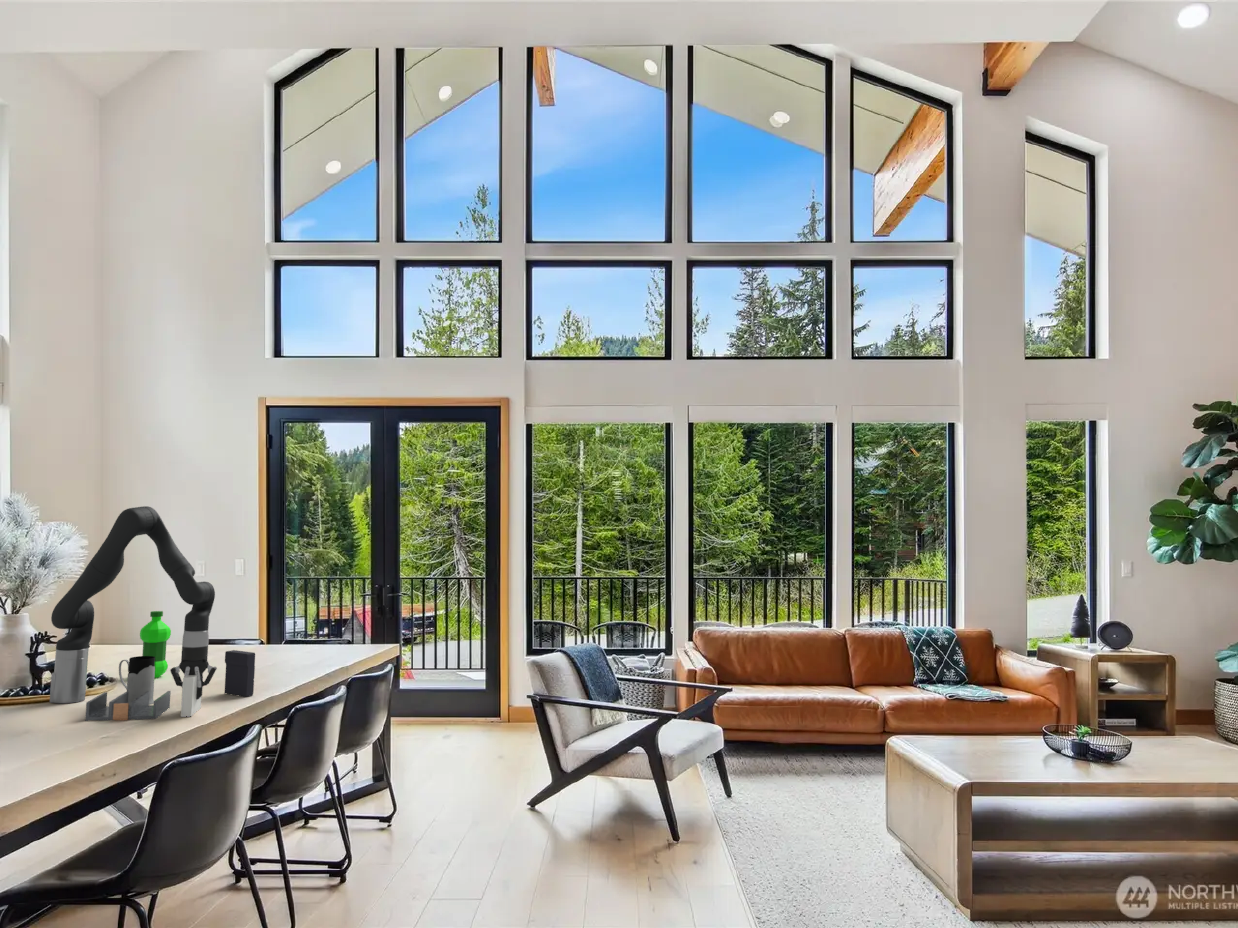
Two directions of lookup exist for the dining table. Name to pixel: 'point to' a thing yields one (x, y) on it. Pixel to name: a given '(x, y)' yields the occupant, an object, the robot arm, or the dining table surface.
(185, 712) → the panel
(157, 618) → the plastic bottle
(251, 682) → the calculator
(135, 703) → the rack
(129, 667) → the tall mug
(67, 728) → the dining table surface
